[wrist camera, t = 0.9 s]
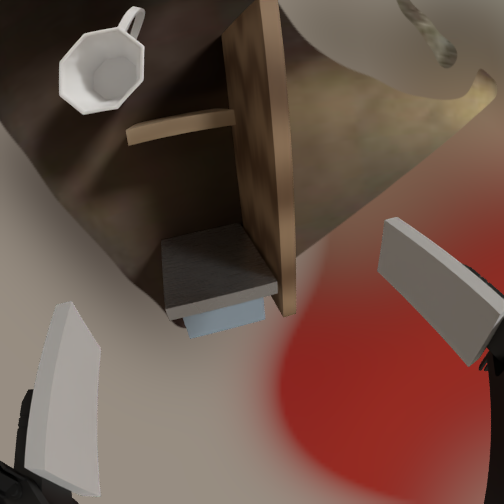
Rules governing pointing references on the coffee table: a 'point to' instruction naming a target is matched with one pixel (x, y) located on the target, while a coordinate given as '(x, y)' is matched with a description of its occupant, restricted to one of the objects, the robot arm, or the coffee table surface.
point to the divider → (180, 124)
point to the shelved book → (225, 318)
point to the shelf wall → (263, 141)
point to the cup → (103, 66)
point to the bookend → (213, 271)
